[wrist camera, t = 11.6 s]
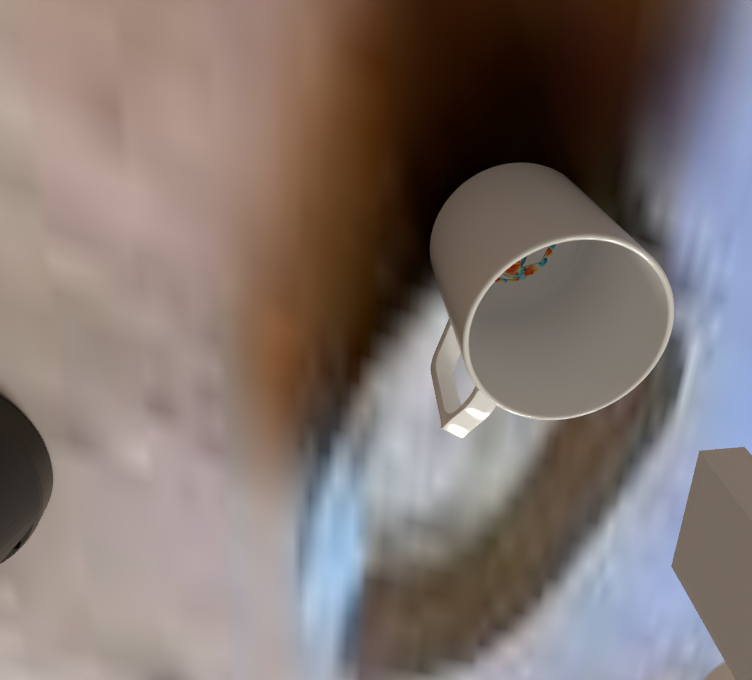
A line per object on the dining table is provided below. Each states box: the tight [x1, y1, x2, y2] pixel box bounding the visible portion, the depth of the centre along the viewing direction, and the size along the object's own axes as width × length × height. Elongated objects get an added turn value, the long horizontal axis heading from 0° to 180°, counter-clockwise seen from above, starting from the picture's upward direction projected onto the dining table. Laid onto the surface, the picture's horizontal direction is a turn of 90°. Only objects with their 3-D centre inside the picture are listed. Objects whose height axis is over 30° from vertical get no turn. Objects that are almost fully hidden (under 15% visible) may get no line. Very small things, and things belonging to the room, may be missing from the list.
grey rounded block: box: [430, 162, 674, 439], centre depth 34 cm, size 12×9×11 cm
